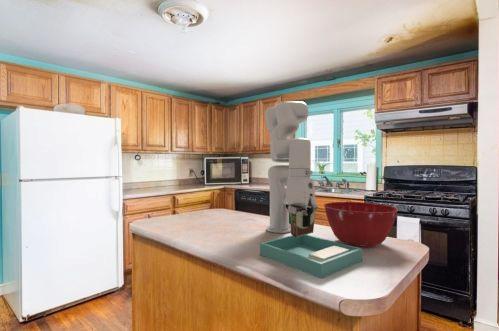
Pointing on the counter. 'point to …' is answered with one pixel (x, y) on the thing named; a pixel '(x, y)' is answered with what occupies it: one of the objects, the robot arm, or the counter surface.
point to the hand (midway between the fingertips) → (299, 224)
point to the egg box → (327, 253)
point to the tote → (299, 248)
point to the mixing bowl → (360, 222)
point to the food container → (300, 221)
